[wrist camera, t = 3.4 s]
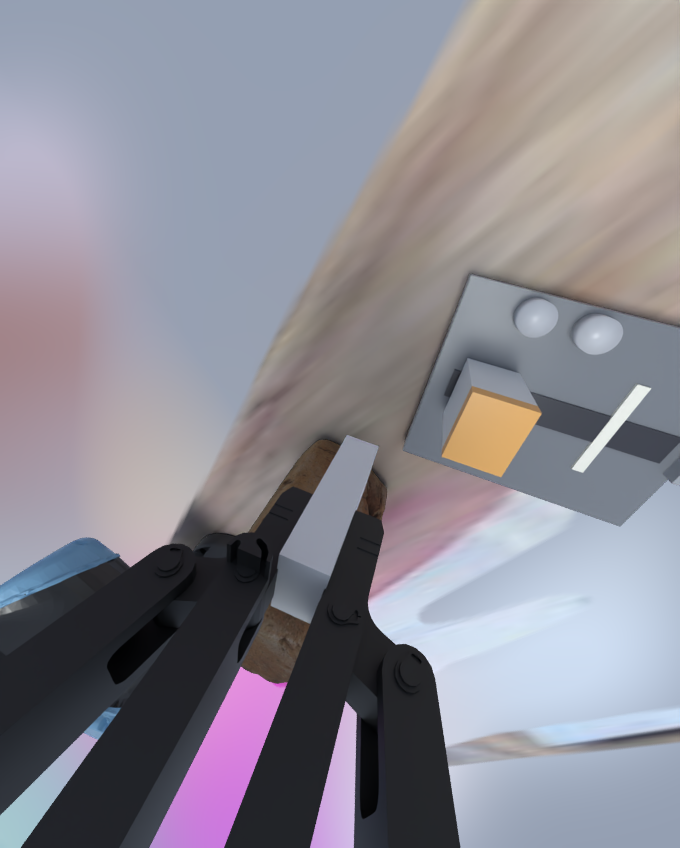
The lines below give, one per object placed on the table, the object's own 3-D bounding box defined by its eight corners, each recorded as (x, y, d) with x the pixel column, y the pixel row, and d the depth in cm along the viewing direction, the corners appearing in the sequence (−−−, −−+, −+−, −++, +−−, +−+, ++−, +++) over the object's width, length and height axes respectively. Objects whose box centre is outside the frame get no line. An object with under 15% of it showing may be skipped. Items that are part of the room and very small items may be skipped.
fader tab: (443, 412, 27) (441, 456, 21) (467, 358, 25) (472, 391, 19) (490, 427, 27) (501, 477, 21) (519, 373, 24) (542, 413, 18)
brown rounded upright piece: (293, 466, 39) (175, 629, 22) (322, 425, 35) (204, 587, 18) (365, 516, 39) (301, 713, 23) (402, 481, 35) (357, 691, 19)
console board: (405, 440, 33) (400, 459, 30) (470, 273, 24) (472, 276, 21) (612, 511, 30) (631, 541, 27) (769, 349, 21) (821, 366, 18)
